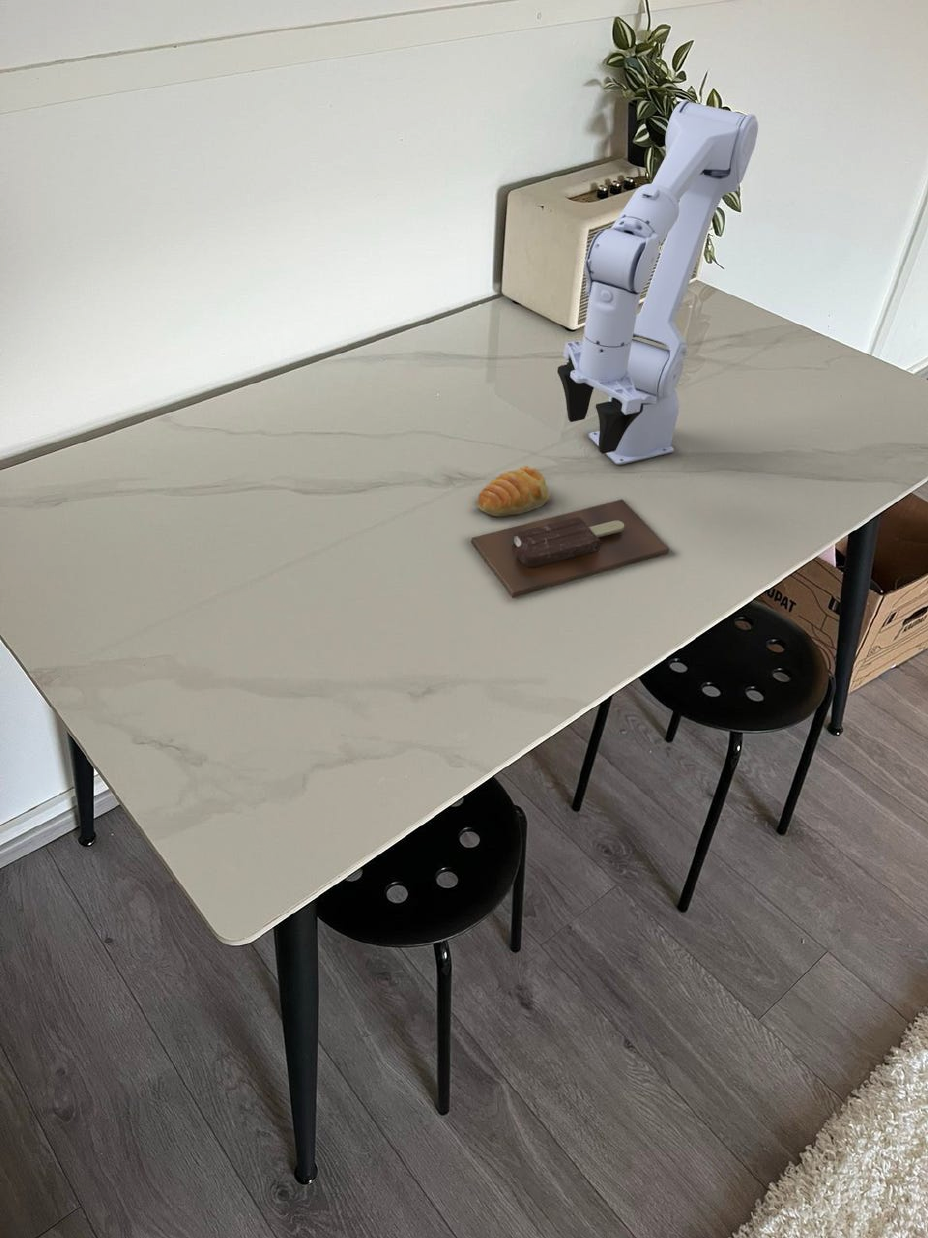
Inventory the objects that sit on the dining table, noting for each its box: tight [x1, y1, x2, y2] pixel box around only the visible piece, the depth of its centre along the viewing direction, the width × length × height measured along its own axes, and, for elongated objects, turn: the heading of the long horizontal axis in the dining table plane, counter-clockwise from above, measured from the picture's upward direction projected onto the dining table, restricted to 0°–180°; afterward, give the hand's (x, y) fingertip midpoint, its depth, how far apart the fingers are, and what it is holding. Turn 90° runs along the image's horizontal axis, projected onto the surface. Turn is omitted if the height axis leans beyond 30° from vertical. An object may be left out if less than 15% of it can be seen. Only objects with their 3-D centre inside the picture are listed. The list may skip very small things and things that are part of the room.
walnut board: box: [470, 499, 670, 598], centre depth 128 cm, size 22×11×1 cm, turn 116°
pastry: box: [477, 465, 551, 518], centre depth 133 cm, size 9×7×4 cm
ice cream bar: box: [513, 517, 624, 568], centre depth 127 cm, size 5×2×15 cm
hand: (591, 434), depth 130 cm, fingers open, 7 cm apart
